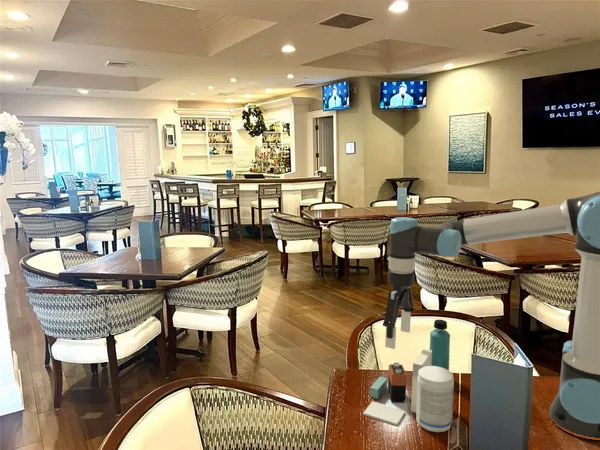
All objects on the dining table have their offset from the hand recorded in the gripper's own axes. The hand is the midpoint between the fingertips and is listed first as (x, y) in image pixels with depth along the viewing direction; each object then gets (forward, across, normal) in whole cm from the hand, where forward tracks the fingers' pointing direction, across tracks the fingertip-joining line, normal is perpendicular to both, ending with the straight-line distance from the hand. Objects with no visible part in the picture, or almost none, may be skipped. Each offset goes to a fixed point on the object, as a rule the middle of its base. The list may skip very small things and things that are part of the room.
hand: (398, 339), depth 134 cm
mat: (+19, +10, 0) cm, 21 cm away
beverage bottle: (+19, -18, +8) cm, 27 cm away
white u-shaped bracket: (+18, 0, +8) cm, 20 cm away
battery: (+19, 0, 0) cm, 19 cm away
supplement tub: (+19, +8, +14) cm, 24 cm away
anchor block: (+19, 0, -5) cm, 19 cm away
